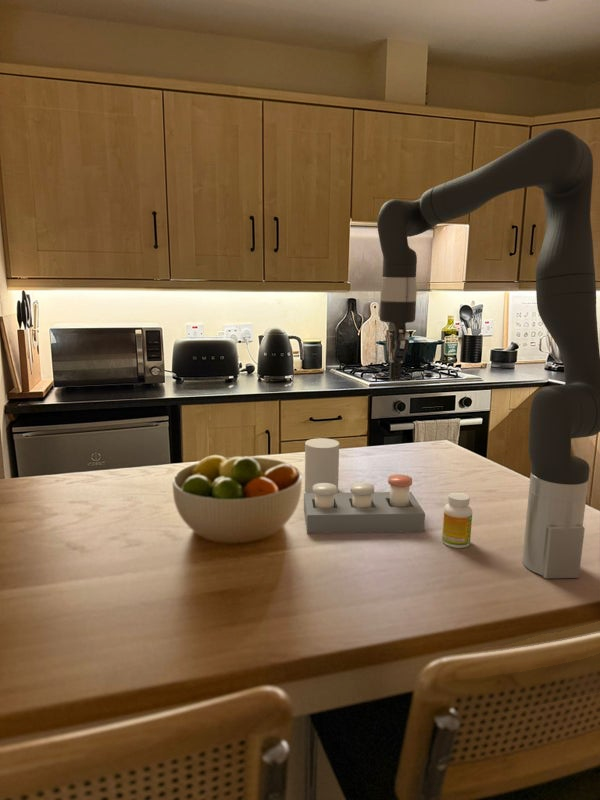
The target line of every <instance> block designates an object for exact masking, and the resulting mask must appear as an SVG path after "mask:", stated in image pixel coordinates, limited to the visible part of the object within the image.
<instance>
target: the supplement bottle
mask: <svg viewBox="0 0 600 800" xmlns="http://www.w3.org/2000/svg"><path fill="white" fill-rule="evenodd" d="M447 502H448V503H446V504H445V505H444V506H443V507H444V508H443V518H442V533H441V541H442V543H443V544H445V545H446V546H447V547H450V548H454V549H455V548H456V549H463V548H467V547H469V546H470V545H471V535H472V523H473V522H472V520H473V509H472V507H471V506H470V495H468V494H466V493H462V492H450V493H449V494H448V496H447Z"/></svg>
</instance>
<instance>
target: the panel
mask: <svg viewBox="0 0 600 800" xmlns="http://www.w3.org/2000/svg"><path fill="white" fill-rule="evenodd" d="M352 502H353V493H352V492H337V493H336V494H334V508H315V494H314V493H306V492H304V493H303V514H304V520H305V526H306V528H305V529H306V534H308V535H309V534H313V535H314V534H358V533H359V534H360V533H363V534H364V533H365V534H367V533H368V534H369V533H373V534H374V533H419V532H421V533H425V522H426V512H425V511H424V510H423V507H421V505H420V503H419V501H418V500H417V499H416V497H415V496H414V494H413V493H412V491H409V507H390V491H378V492H377V491H376V492H375V491H374V493H373V494H372V500H371V507H361V508H352Z"/></svg>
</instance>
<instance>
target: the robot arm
mask: <svg viewBox="0 0 600 800" xmlns="http://www.w3.org/2000/svg"><path fill="white" fill-rule="evenodd" d="M593 175H594V158H593V153H592V150H591V148H590V147H589V145H588V144H587V143H586V142H585V141H584V140H582V139H581V138H579V137H578V136H577V135H576V134H574V133H573V132H571V131H569V130H567V129H563V128H553V129H547V130H545V131H544V132H541V133H540V134H537V135H536V136H533V137H531V138H530V139H528V140H526V141H525V142H523V143H522V144H520V145H518V146H517V147H515V148H514V149H512V150H510V151H508V152H507V153H505V154H503V155H502V156H499V157H498V158H496V159H495V160H492V161H490V162H489V163H487V164H485V165H483V166H481V167H479V168H476V169H474V170H473V171H470V172H468V173H466V174H463V175H461V176H459V177H457V178H454V179H451V180H449V181H446V182H443V183H441V184H439V185H436V186H433V187H430V188H429V189H428V190H426V191H425V192H423V194H422V195H421V196H420V198H419V199H416V200H412V201H408V200H402V199H397V198H396V199H390V200H387V201H386V202H384V203H383V205H382V206H381V208H380V210H379V211H378V215H377V221H376V222H377V223H376V225H377V233H378V238H379V239H378V240H379V244H380V249H381V253H382V279H381V285H380V301H379V302H380V305H379V320H380V322H383V323H388V329H386V331H385V336H384V338H385V345H386V346H385V347H386V357H387V358H388V362H389V374H388V375H389V379H390V380H392V381H400V380H401V379H402V377H401V376H402V364H403V362H405V360H406V355H407V354H408V353H407V352H408V348H409V345H410V341H409V339H408V336H409V335H408V334H409V332H408V330H407V327H406V324H407V323H414V322H415V321H416V314H417V313H416V312H417V292H418V291H417V290H418V289H417V288H418V287H417V263H418V262H417V261H418V257H417V256H418V255H417V253H416V251H415V250H414V249H412V248H411V247H410V246H409V242H408V237H414V236H417V235H421V234H423V233H425V232H427V231H429V230H431V229H432V228H434V227H436V226H437V225H441V224H444V223H447V222H449V221H453V220H455V219H458V218H462V217H464V216H466V215H469V214H471V213H472V212H475V211H477V210H478V209H480V208H481V207H483V206H484V205H485V204H487V203H489V201H491V200H493V199H495V198H497V197H499V196H501V195H503V194H506V193H508V192H511V191H516V190H519V189H525V188H533V187H537V188H538V189H541V190H542V195H543V200H544V201H543V202H544V210H545V233H544V238H543V242H542V245H541V248H540V251H539V255H538V258H537V262H536V263H537V264H536V269H535V292H536V293H535V294H536V306H537V307H536V308H537V311H538V315H539V317H540V319H541V322H542V324H544V327H545V328H546V330H547V332H548V333H549V335H550V336H551V338H552V339H553V342H554V343H555V344H556V346H557V348H558V351H559V352H560V355H561V359H562V364H563V369H564V384H561V385H560V384H557V385H548V386H543V387H541V388H540V389H539V390H537V392H536V393H535V395H534V396H533V398H532V401H531V405H530V411H529V425H528V426H529V427H528V428H529V430H528V457H529V460H530V465H531V466H530V467H531V468H530V477H529V488H528V498H527V499H528V500H527V507H526V510H527V511H526V519H525V527H524V528H525V529H524V537H523V538H524V540H523V541H524V542H523V549H522V563H523V565H524V566H525V568H527V569H528V570H530V571H531V572H533V573H535V574H538V575H541V577H543V578H544V579H579V578H580V571H581V565H582V564H581V562H582V554H583V547H584V538H585V530H586V529H585V527H584V520H585V511H586V504H587V503H586V501H587V494H588V486H589V485H588V484H589V479H590V478H589V477H590V464H589V463H588V462H587V460H585V459H584V458H581V457H578V456H577V455H574V454H572V439H580V438H589V437H593V436H596V435H598V433H600V344H599V343H600V342H599V341H600V340H599V331H598V318H597V287H596V286H597V283H596V269H595V261H594V260H595V257H594V256H595V255H594V242H593V241H594V240H593V232H592V231H593V230H592V223H591V218H592V217H591V210H592V209H591V205H592V193H593V192H592V190H593V189H592V188H593V178H594V177H593Z"/></svg>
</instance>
